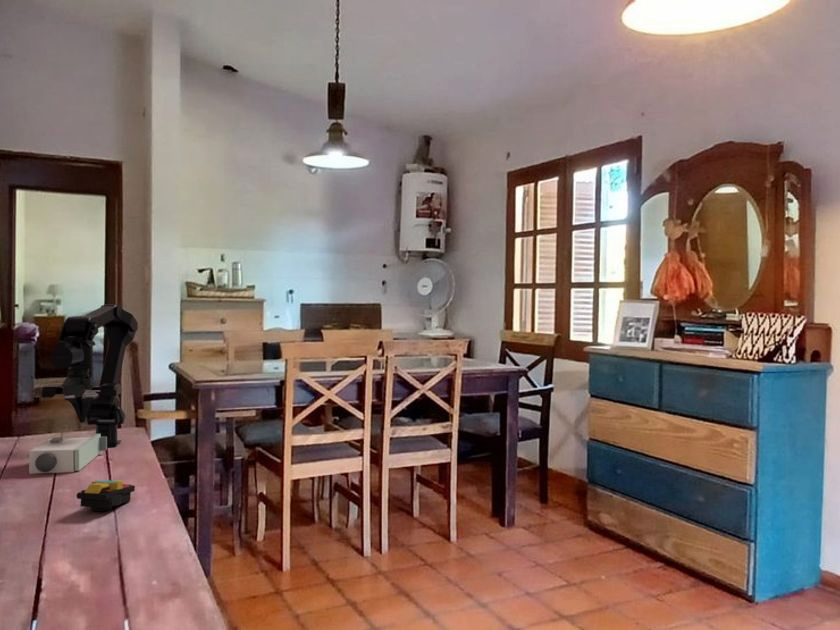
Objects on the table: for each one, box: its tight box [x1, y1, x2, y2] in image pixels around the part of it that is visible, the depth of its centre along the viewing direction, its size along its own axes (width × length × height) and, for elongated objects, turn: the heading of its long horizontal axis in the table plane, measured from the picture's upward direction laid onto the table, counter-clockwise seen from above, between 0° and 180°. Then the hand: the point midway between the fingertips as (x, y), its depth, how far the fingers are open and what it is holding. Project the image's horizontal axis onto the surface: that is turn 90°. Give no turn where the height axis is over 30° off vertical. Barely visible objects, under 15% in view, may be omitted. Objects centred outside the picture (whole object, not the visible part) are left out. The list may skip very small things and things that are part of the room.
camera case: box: [28, 437, 91, 475], centre depth 178 cm, size 15×10×6 cm, turn 10°
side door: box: [74, 433, 108, 472], centre depth 183 cm, size 19×3×5 cm, turn 10°
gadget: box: [76, 479, 136, 512], centre depth 146 cm, size 6×13×6 cm, turn 173°
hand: (82, 422), depth 188 cm, fingers closed
